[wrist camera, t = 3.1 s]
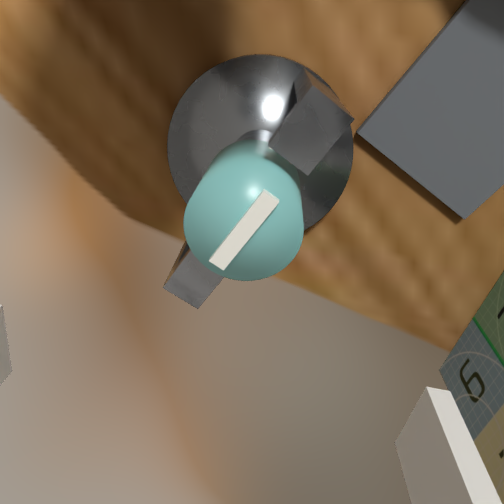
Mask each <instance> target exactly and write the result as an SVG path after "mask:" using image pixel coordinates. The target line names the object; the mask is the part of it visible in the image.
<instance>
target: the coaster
mask: <svg viewBox="0 0 504 504" xmlns="http://www.w3.org/2000/svg"><path fill="white" fill-rule="evenodd" d="M356 132H357V133H358V134H359V135H360V136H362V137H363V138H364V139H365V140H367V141H368V142H369V143H370V144H372V145H373V146H374V147H375V148H377V149H378V150H379V151H380V152H381V153H383V154H384V155H385V156H386V157H388V158H389V159H390V160H391V161H393V162H394V163H395V164H396V165H398V166H399V167H400V168H401V169H403V170H404V171H405V172H406V173H408V174H409V175H410V176H411V177H412V178H414V179H415V180H416V181H417V182H419V183H420V184H421V185H422V186H424V187H425V188H426V189H427V190H429V191H430V192H431V193H432V194H434V195H435V196H436V197H437V198H438V199H440V200H441V201H442V202H443V203H445V204H446V205H447V206H448V207H450V208H451V209H452V210H453V211H455V212H456V213H457V214H458V215H460V216H461V217H462V218H463V219H466V218H467V217H468V216H469V215H470V214H471V213H472V212H474V211H475V210H476V209H477V208H478V207H479V206H480V205H481V204H482V203H484V202H485V201H486V200H487V199H488V198H489V197H490V196H491V195H492V194H493V193H495V192H496V191H497V190H498V189H499V188H500V187H501V186H502V185H503V184H504V0H466V1H465V2H464V3H463V5H462V6H461V7H460V8H459V9H458V11H457V12H456V13H455V14H454V15H453V17H452V18H451V19H450V20H449V21H448V22H447V24H446V25H445V26H444V27H443V28H442V30H441V31H440V32H439V33H438V34H437V36H436V37H435V38H434V39H433V40H432V41H431V43H430V44H429V45H428V46H427V47H426V49H425V50H424V51H423V52H422V53H421V55H420V56H419V57H418V58H417V59H416V61H415V62H414V63H413V64H412V65H411V66H410V68H409V69H408V70H407V71H406V72H405V74H404V75H403V76H402V77H401V78H400V80H399V81H398V82H397V83H396V84H395V86H394V87H393V88H392V89H391V90H390V91H389V93H388V94H387V95H386V96H385V97H384V99H383V100H382V101H381V102H380V103H379V105H378V106H377V107H376V108H375V109H374V110H373V112H372V113H371V114H370V115H369V116H368V118H367V119H366V120H365V121H364V122H363V124H362V125H361V126H360V127H359V128H358V130H357V131H356Z"/></svg>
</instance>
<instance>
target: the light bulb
mask: <svg viewBox="0 0 504 504" xmlns="http://www.w3.org/2000/svg"><path fill="white" fill-rule="evenodd" d="M183 223H184V233H185V238H186V241H187V243H188V245H189V247H190V249H191V251H192V253H193V254H194V256H195V257H196V258H197V259H198V260H199V261H200V262H201V263H202V264H203V265H204V266H205V267H207V268H208V269H209V270H211V271H212V272H214V273H216V274H218V275H220V276H223V277H226V278H229V279H234V280H241V281H252V280H259V279H263V278H267V277H269V276H272V275H274V274H276V273H278V272H279V271H281V270H282V269H284V268H285V267H286V266H287V265H288V264H289V263H290V262H291V261H292V260H293V259H294V257H295V256H296V254H297V252H298V251H299V248H300V246H301V243H302V239H303V233H304V223H303V212H302V201H301V190H300V180H299V175H298V172H297V169H296V167H295V166H294V165H293V164H291V163H290V162H289V161H287V160H286V159H285V158H283V157H282V156H281V155H279V154H278V153H277V152H275V151H274V150H273V149H271V148H270V147H269V146H268V142H266V141H262V140H254V139H249V140H242V141H237V142H235V143H232V144H230V145H228V146H226V147H225V148H224V149H222V150H221V151H220V152H219V153H218V154H217V155H216V156H215V158H214V159H213V160H212V162H211V164H210V166H209V167H208V169H207V171H206V172H205V174H204V176H203V178H202V179H201V181H200V183H199V184H198V186H197V188H196V190H195V191H194V193H193V195H192V197H191V198H190V200H189V202H188V204H187V207H186V210H185V214H184V222H183Z"/></svg>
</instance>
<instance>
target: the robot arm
mask: <svg viewBox="0 0 504 504" xmlns="http://www.w3.org/2000/svg"><path fill="white" fill-rule="evenodd" d="M11 372H12V367H11V360H10V354H9V347H8V340H7V333H6V327H5V320H4V313H3V306H2V305H0V385H1V384H2V383H3V382H4V380H5V379H6V378H7V377H8V375H9V374H10V373H11ZM395 446H396V450H397V453H398V457H399V461H400V464H401V468H402V472H403V476H404V480H405V483H406V487H407V491H408V495H409V498H410V502H411V504H502V502H501V500H500V498H499V496H498V494H497V492H496V489H495V487H494V485H493V483H492V481H491V478H490V476H489V474H488V472H487V470H486V468H485V465H484V463H483V461H482V459H481V457H480V455H479V452H478V450H477V448H476V446H475V444H474V442H473V439H472V437H471V435H470V433H469V431H468V429H467V426H466V424H465V422H464V420H463V418H462V416H461V413H460V411H459V409H458V407H457V405H456V403H455V400H454V398H453V396H452V394H451V392H450V391H447V390H442V389H437V388H431V387H426V388H425V389H424V391H423V393H422V395H421V397H420V398H419V400H418V402H417V404H416V406H415V407H414V409H413V411H412V413H411V414H410V416H409V418H408V420H407V421H406V423H405V425H404V427H403V429H402V430H401V432H400V434H399V436H398V438H397V439H396V441H395Z"/></svg>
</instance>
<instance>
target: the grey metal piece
mask: <svg viewBox="0 0 504 504" xmlns="http://www.w3.org/2000/svg"><path fill="white" fill-rule="evenodd" d="M353 120H354V118H353V117H352V115H351V114H350V113H349V112H348V110H347V109H346V108H345V107H344V105H343V104H342V103H341V102H340V100H339V99H338V97H337V95H336V94H335V93H334V92H333V90H332V89H331V88H330V86H329V85H328V84H327V83H326V82H325V81H324V80H323V79H322V78H321V77H320V76H319V75H318V74H316V73H315V72H313V71H312V70H310V69H309V68H308V67H306V66H304V65H302V64H300V63H298V62H296V61H293V60H291V59H288V58H285V57H281V56H275V55H268V54H254V55H244V56H240V57H237V58H233V59H230V60H228V61H225V62H223V63H221V64H218V65H216V66H215V67H213V68H211V69H210V70H208V71H206V72H205V73H204V74H203V75H201V76H200V77H199V78H198V79H197V80H195V82H194V83H193V84H192V85H191V86H190V87H189V88H188V89H187V91H186V92H185V93H184V95H183V96H182V98H181V99H180V101H179V103H178V105H177V107H176V109H175V111H174V114H173V117H172V120H171V122H170V127H169V132H168V142H167V152H168V162H169V167H170V171H171V174H172V177H173V180H174V183H175V185H176V187H177V189H178V191H179V193H180V195H181V196H182V198H183V199H184V201H185V202H186V204H188V202H189V200H190V198H191V197H192V195H193V193H194V191H195V190H196V188H197V186H198V184H199V183H200V181H201V179H202V178H203V176H204V174H205V172H206V171H207V169H208V167H209V166H210V164H211V162H212V160H213V159H214V158H215V156H216V155H217V154H218V153H219V152H220V151H221V150H222V149H224V148H225V147H226V146H228V145H230V144H232V143H235V142H237V141H242V140H249V139H254V140H262V141H266V142H268V146H269V147H270V148H271V149H273V150H274V151H275V152H277V153H278V154H279V155H281V156H282V157H283V158H285V159H286V160H287V161H289V162H290V163H291V164H293V165H294V166H295V167H296V169H297V172H298V175H299V180H300V190H301V201H302V212H303V223H304V230H305V229H307V228H309V227H310V226H312V225H314V224H315V223H316V222H318V221H319V220H320V219H321V218H323V217H324V216H325V215H326V214H327V213H328V212H329V211H330V210H331V208H332V207H333V206H334V204H335V203H336V202H337V200H338V199H339V197H340V195H341V194H342V192H343V190H344V188H345V186H346V183H347V181H348V178H349V175H350V171H351V167H352V160H353V138H352V131H351V127H350V124H351V123H352V122H353ZM223 278H224V277H223V276H220V275H218V274H216V273H214V272H212V271H211V270H209V269H208V268H207V267H205V266H204V265H203V264H202V263H201V262H200V261H199V260H198V259H197V258H196V257H195V256H194V254H193V253H192V251H191V249H190V247H189V245H188V243H187V241H185V243H184V245H183V247H182V249H181V251H180V253H179V255H178V257H177V259H176V261H175V263H174V266H173V267H172V270H171V272H170V274H169V276H168V278H167V280H166V282H165V284H164V286H163V288H164V289H166V290H167V291H169V292H170V293H172V294H174V295H175V296H177V297H179V298H181V299H182V300H184V301H185V302H187V303H189V304H191V305H192V306H194V307H196V308H197V309H198V308H199V307H200V306H201V305H202V303H203V302H204V301H205V300H206V298H207V297H208V296H209V295H210V293H211V292H212V291H213V290H214V289H215V287H216V286H217V285H218V284H219V283H220V282H221V280H222V279H223Z"/></svg>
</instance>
